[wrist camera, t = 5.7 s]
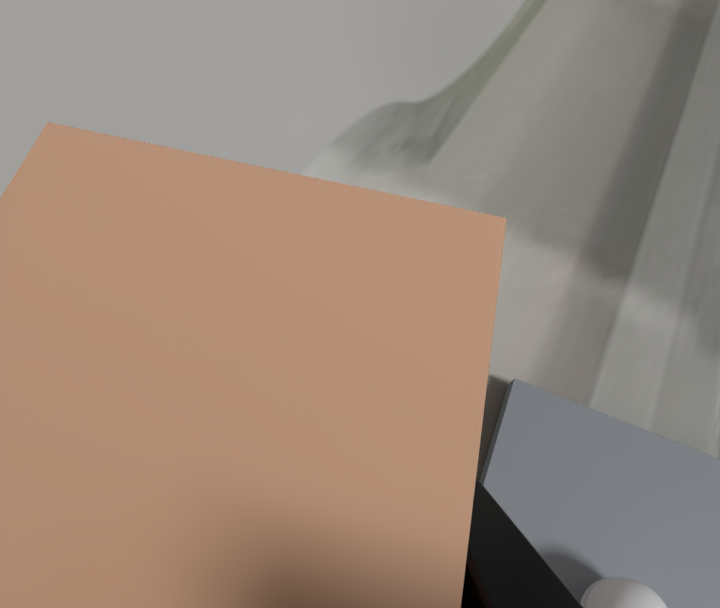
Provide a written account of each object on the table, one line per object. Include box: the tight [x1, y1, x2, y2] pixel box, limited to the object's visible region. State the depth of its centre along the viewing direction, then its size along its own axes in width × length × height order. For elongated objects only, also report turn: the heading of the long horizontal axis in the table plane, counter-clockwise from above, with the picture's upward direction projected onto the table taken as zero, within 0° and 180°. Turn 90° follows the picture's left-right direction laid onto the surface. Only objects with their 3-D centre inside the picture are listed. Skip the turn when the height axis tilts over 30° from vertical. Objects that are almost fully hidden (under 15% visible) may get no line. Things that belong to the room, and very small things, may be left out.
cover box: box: [0, 122, 506, 608], centre depth 10 cm, size 6×6×10 cm
